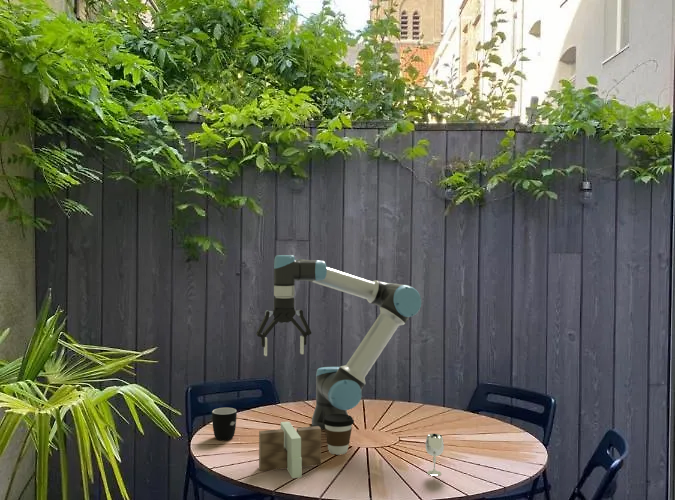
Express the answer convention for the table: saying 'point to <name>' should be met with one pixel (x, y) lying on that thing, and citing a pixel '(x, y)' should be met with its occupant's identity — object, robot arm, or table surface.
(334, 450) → the coffee cup
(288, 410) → the table surface
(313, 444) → the slotted board
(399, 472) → the table surface
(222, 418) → the mug
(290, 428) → the sage plate
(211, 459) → the table surface
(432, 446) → the wineglass
